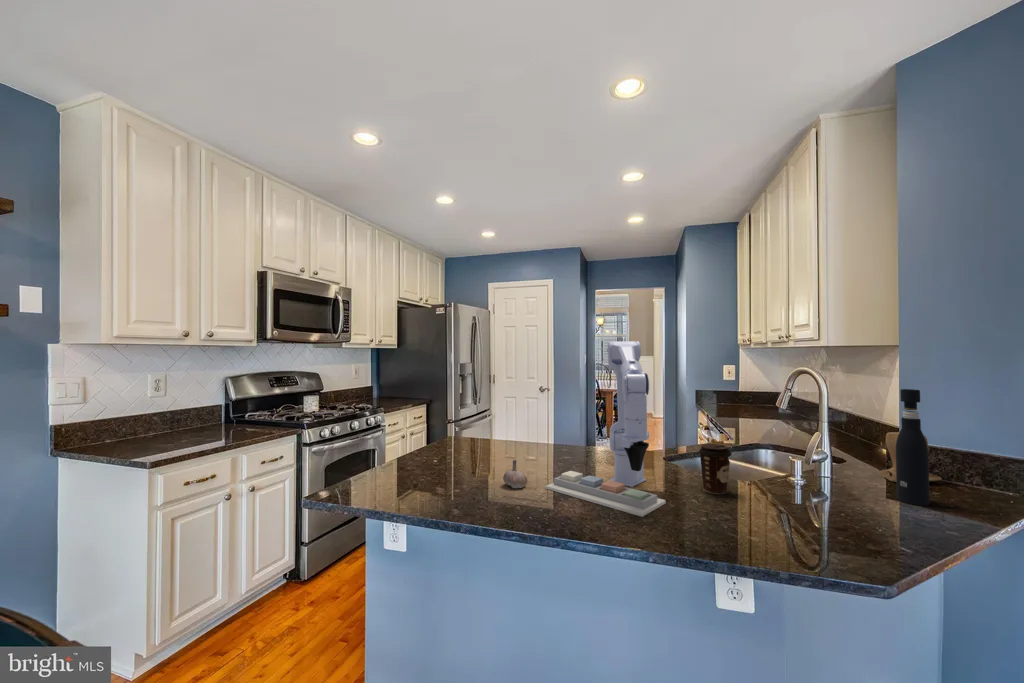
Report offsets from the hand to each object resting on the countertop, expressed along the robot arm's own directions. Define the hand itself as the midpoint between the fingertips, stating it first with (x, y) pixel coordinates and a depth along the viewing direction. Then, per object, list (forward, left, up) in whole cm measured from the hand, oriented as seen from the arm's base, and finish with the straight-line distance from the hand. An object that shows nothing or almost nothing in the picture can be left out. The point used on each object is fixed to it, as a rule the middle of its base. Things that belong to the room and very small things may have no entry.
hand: (636, 470), depth 112 cm
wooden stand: (-79, +50, -9) cm, 94 cm away
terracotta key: (0, -7, -7) cm, 10 cm away
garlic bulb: (+11, -34, -9) cm, 37 cm away
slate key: (0, -14, -7) cm, 16 cm away
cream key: (0, -21, -7) cm, 22 cm away
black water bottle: (-54, +52, -9) cm, 75 cm away
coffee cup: (-26, +11, -9) cm, 30 cm away
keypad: (0, -10, -9) cm, 14 cm away
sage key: (0, 0, -8) cm, 8 cm away
